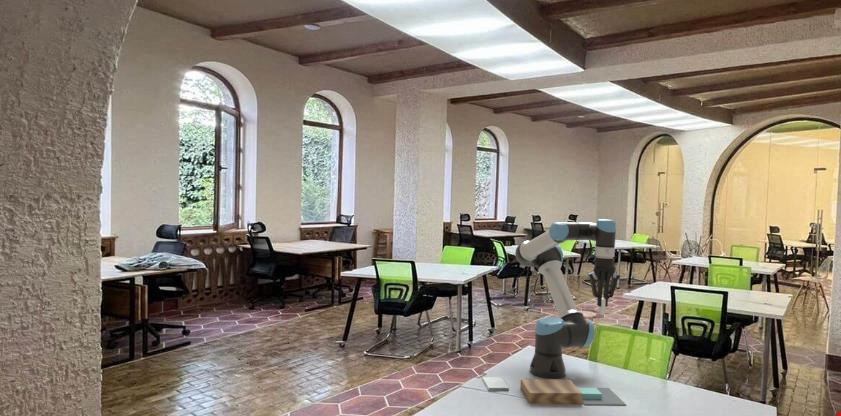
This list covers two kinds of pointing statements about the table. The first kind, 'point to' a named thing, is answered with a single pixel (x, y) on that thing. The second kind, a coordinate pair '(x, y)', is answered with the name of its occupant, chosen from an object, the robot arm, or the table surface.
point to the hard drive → (495, 384)
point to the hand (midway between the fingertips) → (601, 314)
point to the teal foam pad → (590, 393)
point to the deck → (551, 391)
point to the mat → (604, 398)
